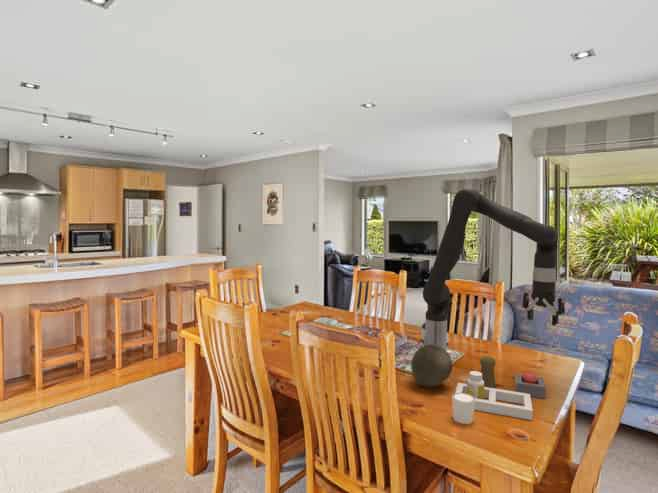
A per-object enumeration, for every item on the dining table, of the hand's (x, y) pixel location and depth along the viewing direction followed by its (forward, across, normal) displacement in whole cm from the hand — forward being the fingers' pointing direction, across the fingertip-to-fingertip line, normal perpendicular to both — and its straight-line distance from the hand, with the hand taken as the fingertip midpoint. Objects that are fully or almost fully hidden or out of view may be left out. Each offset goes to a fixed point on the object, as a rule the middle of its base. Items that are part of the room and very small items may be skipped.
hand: (542, 322), depth 148 cm
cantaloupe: (+23, -22, -36) cm, 48 cm away
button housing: (+23, +2, -11) cm, 25 cm away
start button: (+20, +2, -11) cm, 23 cm away
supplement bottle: (+23, -5, -34) cm, 41 cm away
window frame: (+23, 0, -31) cm, 39 cm away
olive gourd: (+23, -9, -20) cm, 32 cm away
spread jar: (+23, -54, +6) cm, 59 cm away
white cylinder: (+23, 0, -47) cm, 53 cm away
